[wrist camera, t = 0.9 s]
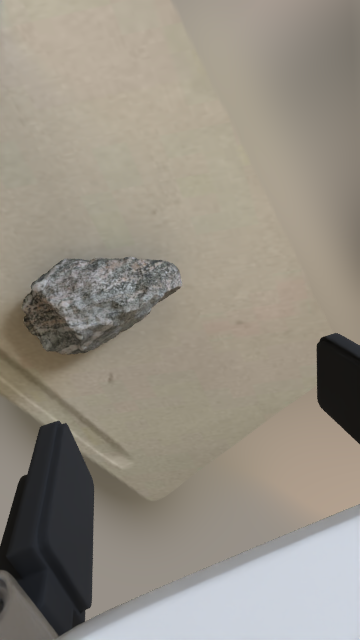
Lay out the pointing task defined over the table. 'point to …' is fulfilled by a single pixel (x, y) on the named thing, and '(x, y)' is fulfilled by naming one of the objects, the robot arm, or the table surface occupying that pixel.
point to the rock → (95, 300)
